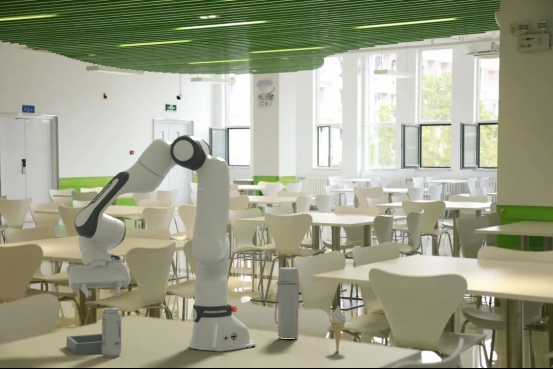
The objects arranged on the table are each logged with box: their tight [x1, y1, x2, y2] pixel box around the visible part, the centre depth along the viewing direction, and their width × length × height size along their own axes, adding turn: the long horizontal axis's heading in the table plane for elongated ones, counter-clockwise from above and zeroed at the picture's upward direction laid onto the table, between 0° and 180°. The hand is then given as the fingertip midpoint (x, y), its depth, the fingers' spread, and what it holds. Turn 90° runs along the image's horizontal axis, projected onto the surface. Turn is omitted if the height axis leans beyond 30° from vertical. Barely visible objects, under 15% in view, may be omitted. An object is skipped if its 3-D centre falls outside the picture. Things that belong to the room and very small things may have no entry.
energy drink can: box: [101, 306, 123, 359], centre depth 253 cm, size 6×6×15 cm
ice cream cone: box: [329, 305, 347, 351], centre depth 264 cm, size 6×6×15 cm
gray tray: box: [66, 333, 102, 356], centre depth 263 cm, size 14×14×4 cm
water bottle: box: [274, 266, 300, 339], centre depth 285 cm, size 9×8×25 cm
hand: (103, 295), depth 263 cm, fingers open, 8 cm apart
